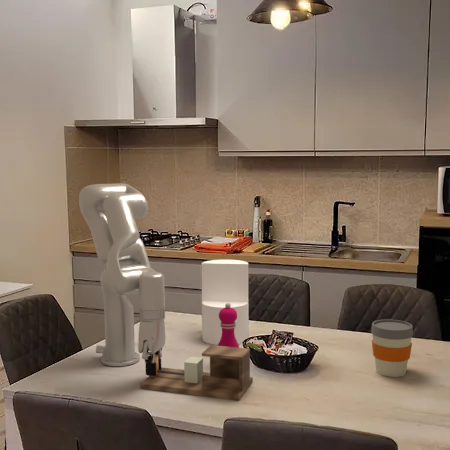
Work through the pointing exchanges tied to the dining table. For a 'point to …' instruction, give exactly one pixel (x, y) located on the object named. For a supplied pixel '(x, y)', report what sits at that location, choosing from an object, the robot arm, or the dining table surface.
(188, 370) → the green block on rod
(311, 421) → the dining table surface
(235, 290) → the cylinder
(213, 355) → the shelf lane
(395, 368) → the reusable coffee cup
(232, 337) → the pepper mill
